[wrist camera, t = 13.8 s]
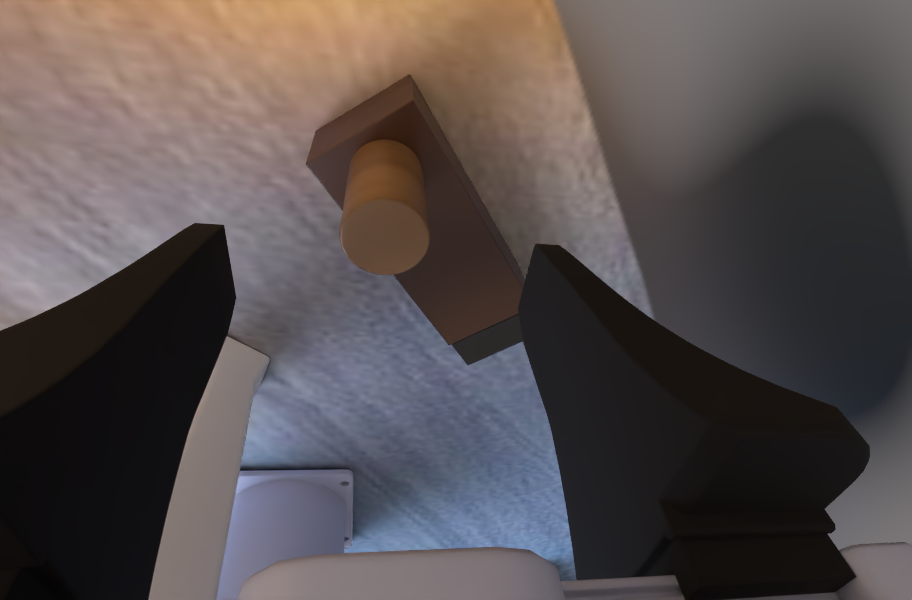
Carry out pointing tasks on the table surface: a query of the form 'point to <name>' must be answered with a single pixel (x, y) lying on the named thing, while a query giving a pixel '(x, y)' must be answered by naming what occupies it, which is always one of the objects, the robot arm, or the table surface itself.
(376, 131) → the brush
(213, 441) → the perfume bottle
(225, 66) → the table surface
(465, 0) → the table surface
